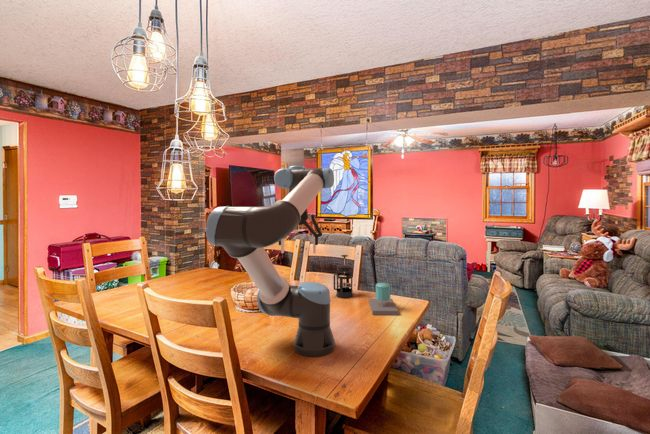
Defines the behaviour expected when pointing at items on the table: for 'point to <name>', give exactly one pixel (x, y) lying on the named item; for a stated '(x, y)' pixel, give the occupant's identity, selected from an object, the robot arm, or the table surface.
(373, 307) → the post base
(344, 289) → the french press
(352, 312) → the table surface
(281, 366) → the table surface
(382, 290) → the teal cylinder
